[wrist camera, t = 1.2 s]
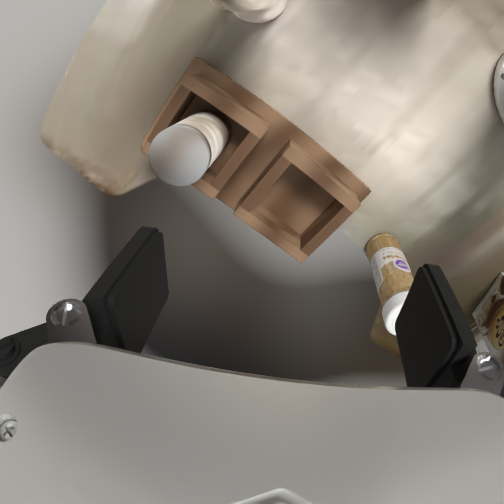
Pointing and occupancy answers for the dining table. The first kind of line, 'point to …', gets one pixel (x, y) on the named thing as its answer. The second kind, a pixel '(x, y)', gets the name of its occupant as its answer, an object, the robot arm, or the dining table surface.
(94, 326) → the robot arm
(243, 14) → the silver metal can
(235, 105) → the condiment rack
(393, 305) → the sprinkles bottle
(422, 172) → the dining table surface
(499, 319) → the coffee box
